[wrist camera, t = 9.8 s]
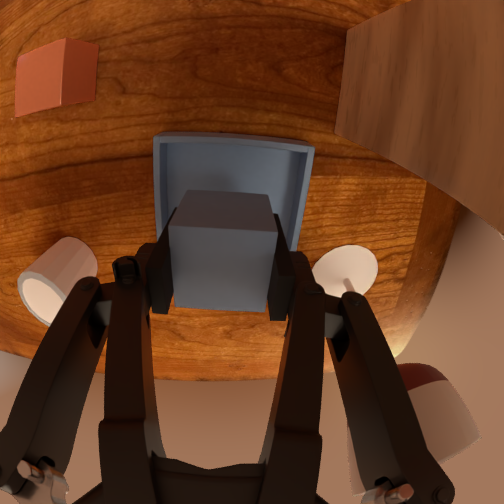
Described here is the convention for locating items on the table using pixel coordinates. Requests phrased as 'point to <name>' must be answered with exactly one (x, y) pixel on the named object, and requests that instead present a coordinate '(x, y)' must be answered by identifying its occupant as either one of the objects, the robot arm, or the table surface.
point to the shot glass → (55, 277)
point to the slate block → (222, 250)
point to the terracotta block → (56, 76)
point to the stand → (432, 96)
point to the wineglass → (402, 368)
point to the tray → (233, 172)
